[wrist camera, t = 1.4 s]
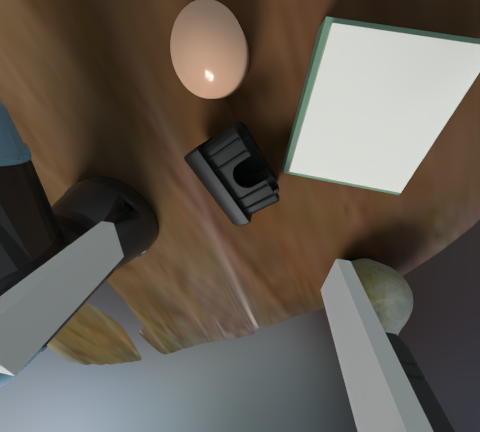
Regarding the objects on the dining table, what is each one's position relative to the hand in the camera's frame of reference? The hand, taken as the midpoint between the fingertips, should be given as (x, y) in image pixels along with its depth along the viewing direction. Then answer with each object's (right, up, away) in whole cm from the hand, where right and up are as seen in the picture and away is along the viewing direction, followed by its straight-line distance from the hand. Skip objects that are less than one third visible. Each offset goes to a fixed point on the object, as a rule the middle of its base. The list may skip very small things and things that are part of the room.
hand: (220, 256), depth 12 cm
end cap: (+1, +9, +15) cm, 17 cm away
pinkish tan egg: (-1, +19, +9) cm, 21 cm away
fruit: (+21, -6, +20) cm, 30 cm away
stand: (+14, +13, +9) cm, 21 cm away
